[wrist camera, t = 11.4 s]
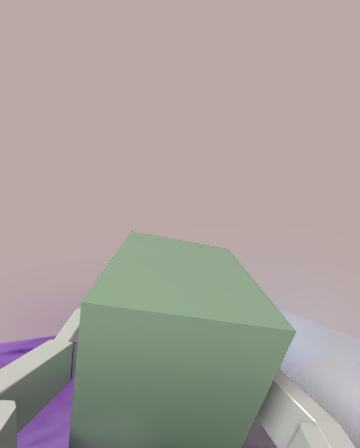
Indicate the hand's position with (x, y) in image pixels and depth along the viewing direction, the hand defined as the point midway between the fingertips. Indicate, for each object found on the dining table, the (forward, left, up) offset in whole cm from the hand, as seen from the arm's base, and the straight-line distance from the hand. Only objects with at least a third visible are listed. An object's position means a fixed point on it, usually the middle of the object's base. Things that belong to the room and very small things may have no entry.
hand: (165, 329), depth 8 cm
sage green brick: (+1, +1, -5) cm, 5 cm away
